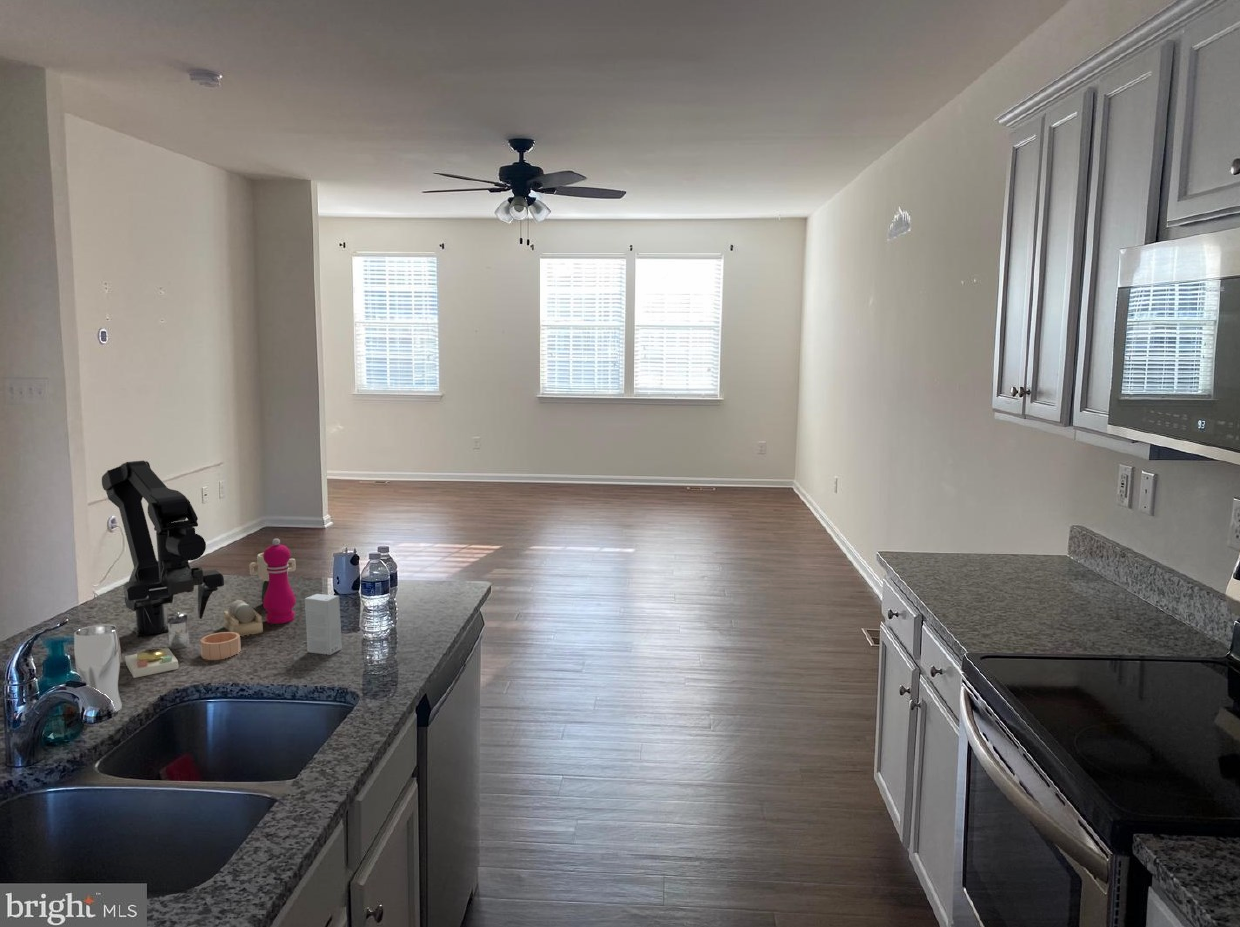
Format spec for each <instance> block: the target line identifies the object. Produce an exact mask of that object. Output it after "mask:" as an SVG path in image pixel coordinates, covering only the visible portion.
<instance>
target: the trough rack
mask: <svg viewBox="0 0 1240 927" xmlns="http://www.w3.org/2000/svg"><path fill="white" fill-rule="evenodd" d="M262 619H263V618H262V615H260V614H259V613H258V612H257V611H256V610H254V608H253V607H252V606H250V605H249V604H248V603H246V602H245V601H244V600H241V599H237V600H234V601H233V602H231V604H230V606H229V611H228V610H223V627H224V628H225V629H226V630H227V632H234V633H238V634H239V635H240V636H242V637H245V636H244V635H247V636H250V635H249V634H252V635H256V634H261V633H264V629H263V628H264V626H263V620H262Z"/></svg>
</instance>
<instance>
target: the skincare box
mask: <svg viewBox="0 0 1240 927" xmlns="http://www.w3.org/2000/svg"><path fill="white" fill-rule="evenodd" d="M340 605H341V604H340V596H339V595H333V594H322V593H315V594H312V595H310V596H308V597H305V598H304V609H305V610H304V614H305V629H306V648H307V653H310V654H311V653H312V654H319V655H320V654H321V655H326V654H327V655H328V656H329V655H330V656H331V655H333V654H334V653H336V652H338V651H340V650H342V648H343V645H342V631H341V630H342V626H341V609H340V608H341V606H340ZM327 655H326V656H327Z"/></svg>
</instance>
